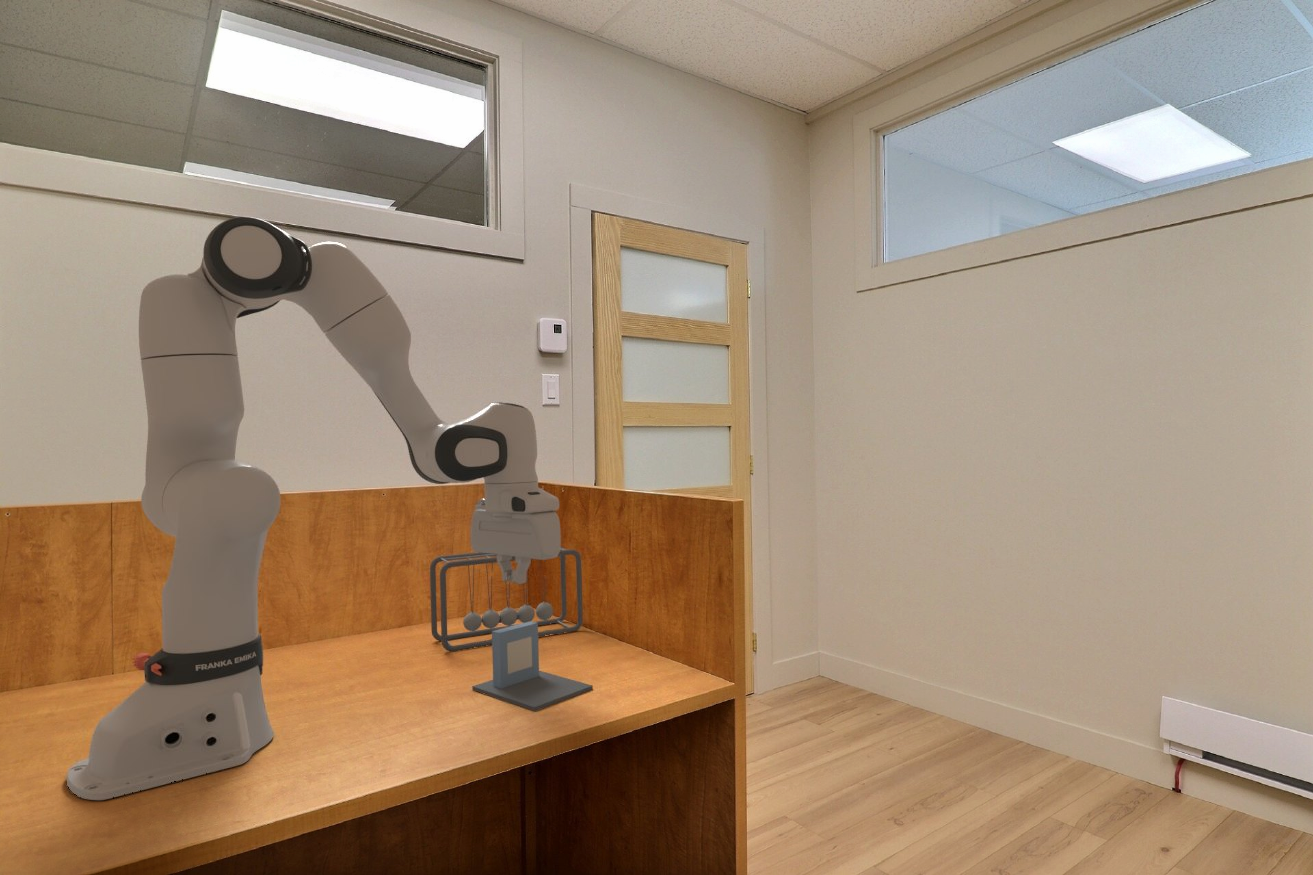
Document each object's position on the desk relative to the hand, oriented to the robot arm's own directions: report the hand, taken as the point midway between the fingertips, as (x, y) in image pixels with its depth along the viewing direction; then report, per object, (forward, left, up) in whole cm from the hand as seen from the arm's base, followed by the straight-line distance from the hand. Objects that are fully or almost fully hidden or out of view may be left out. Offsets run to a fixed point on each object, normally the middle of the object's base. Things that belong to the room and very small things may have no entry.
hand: (514, 582), depth 119 cm
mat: (0, -4, -17) cm, 18 cm away
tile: (0, 0, -16) cm, 17 cm away
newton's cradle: (+19, +27, -17) cm, 37 cm away
